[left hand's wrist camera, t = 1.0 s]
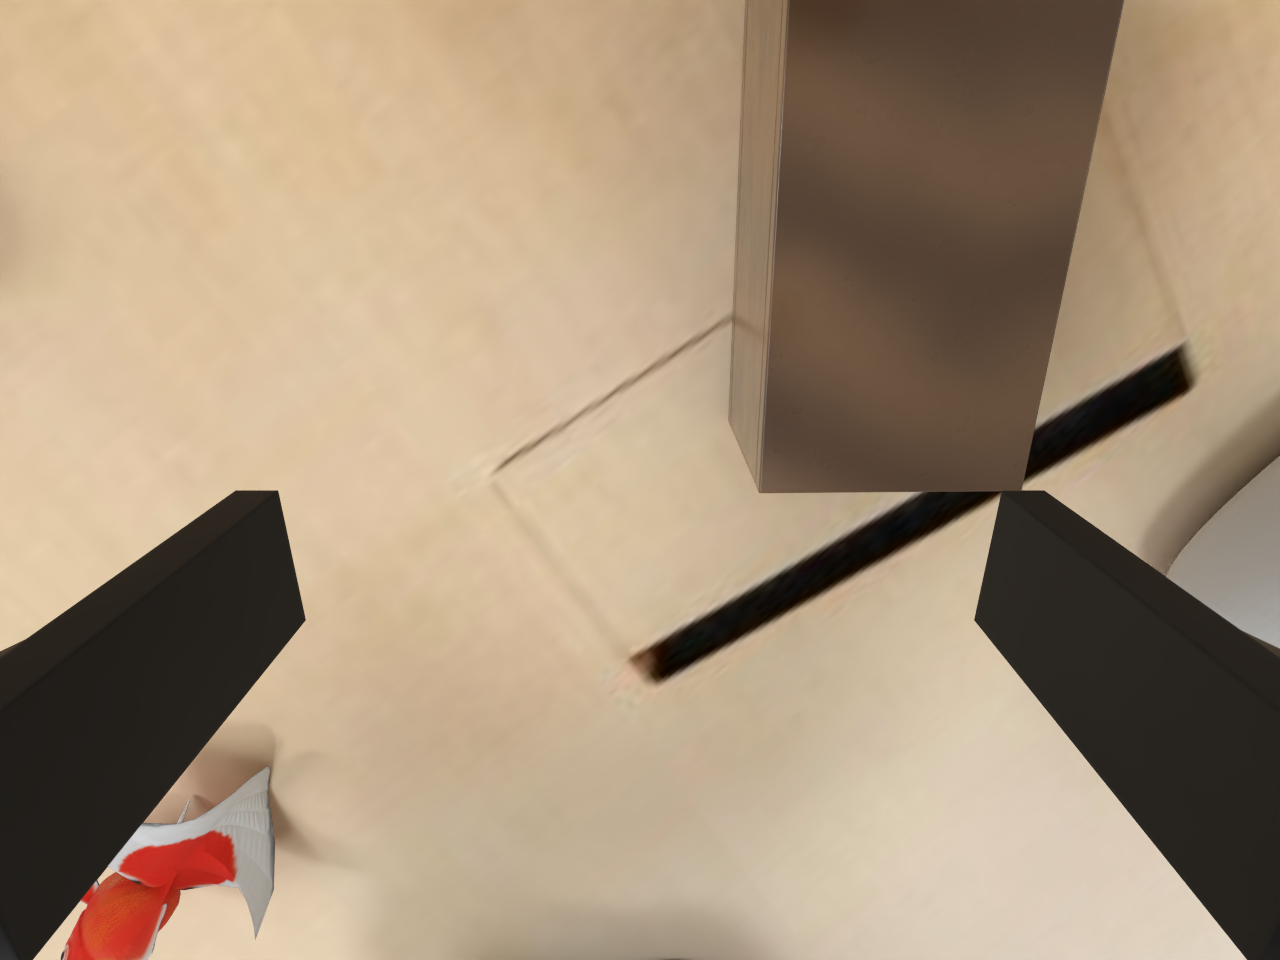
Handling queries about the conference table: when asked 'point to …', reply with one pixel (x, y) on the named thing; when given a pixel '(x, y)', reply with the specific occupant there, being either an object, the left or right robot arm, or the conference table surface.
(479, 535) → the conference table surface
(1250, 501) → the projector
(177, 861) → the fish
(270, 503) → the left robot arm
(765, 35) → the cabinet
